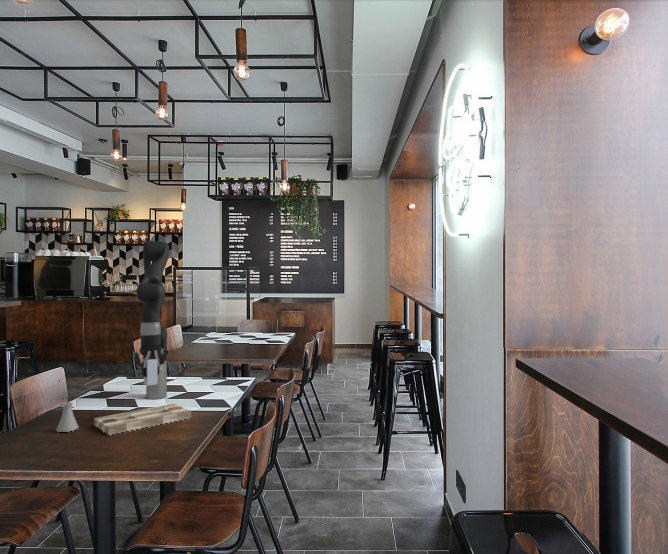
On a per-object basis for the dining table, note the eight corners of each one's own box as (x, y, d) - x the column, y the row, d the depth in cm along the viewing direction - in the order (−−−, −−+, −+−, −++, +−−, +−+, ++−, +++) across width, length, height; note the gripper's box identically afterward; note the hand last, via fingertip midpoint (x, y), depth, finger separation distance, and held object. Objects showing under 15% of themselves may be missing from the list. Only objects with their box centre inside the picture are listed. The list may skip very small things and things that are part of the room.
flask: (82, 428, 186) (83, 402, 186) (66, 434, 179) (67, 406, 179) (68, 426, 188) (68, 400, 188) (51, 432, 182) (51, 405, 182)
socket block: (94, 426, 189) (94, 417, 189) (173, 410, 211) (173, 403, 211) (108, 435, 178) (108, 426, 178) (191, 418, 199) (191, 410, 199)
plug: (143, 384, 199) (143, 359, 199) (153, 382, 201) (153, 358, 201) (147, 385, 196) (147, 360, 196) (157, 384, 198) (157, 359, 198)
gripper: (164, 331, 206) (164, 372, 206) (129, 333, 197) (129, 377, 197) (171, 332, 201) (171, 375, 201) (136, 335, 191) (136, 379, 191)
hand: (150, 375), depth 199 cm, fingers closed on plug, 4 cm apart
